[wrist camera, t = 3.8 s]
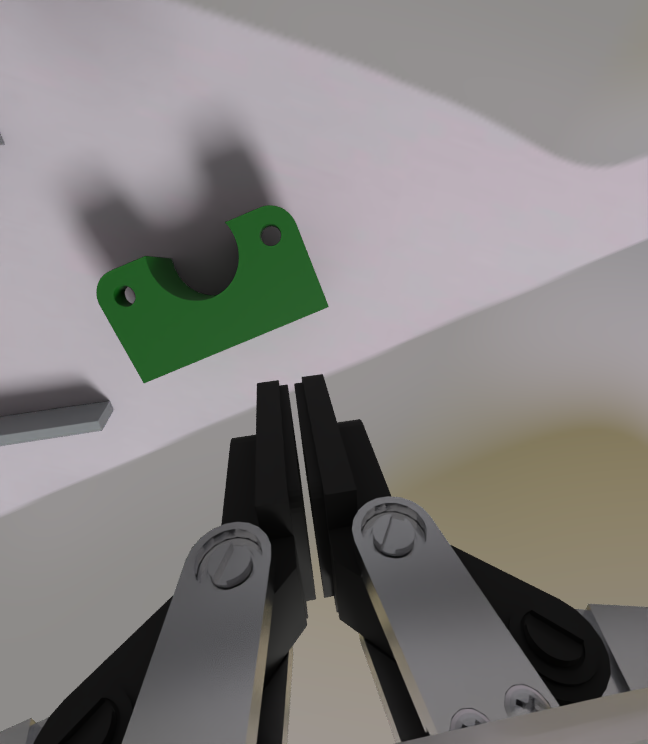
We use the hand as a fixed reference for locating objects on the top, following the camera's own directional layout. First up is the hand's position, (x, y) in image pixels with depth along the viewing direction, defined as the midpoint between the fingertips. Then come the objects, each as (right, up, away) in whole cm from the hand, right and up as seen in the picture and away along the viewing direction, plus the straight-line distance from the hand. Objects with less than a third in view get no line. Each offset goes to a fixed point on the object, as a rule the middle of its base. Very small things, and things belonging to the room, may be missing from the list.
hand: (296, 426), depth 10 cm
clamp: (-6, +8, +15) cm, 18 cm away
